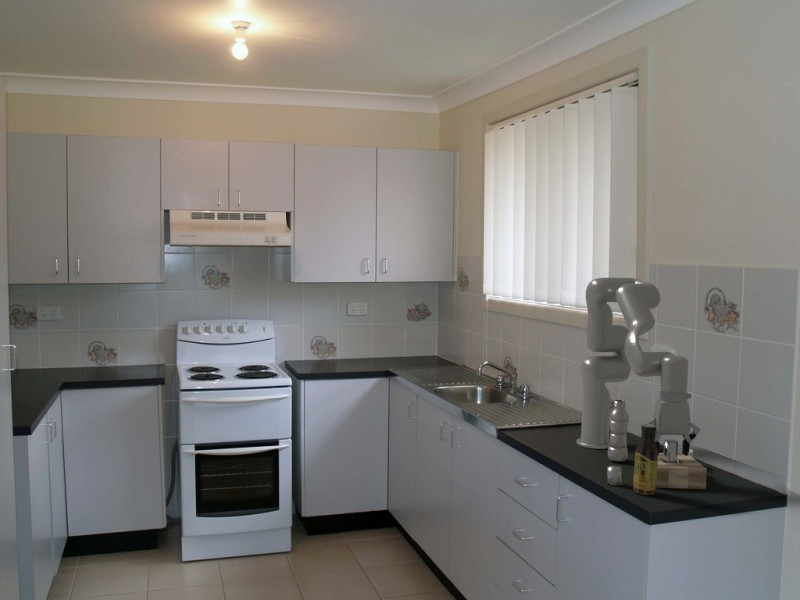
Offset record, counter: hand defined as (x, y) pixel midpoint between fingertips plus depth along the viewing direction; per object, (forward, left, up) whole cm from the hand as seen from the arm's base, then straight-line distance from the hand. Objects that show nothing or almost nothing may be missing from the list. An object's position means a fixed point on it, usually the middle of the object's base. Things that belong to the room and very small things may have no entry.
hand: (670, 453), depth 232 cm
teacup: (-15, +7, -8) cm, 19 cm away
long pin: (0, 0, -8) cm, 8 cm away
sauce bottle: (+13, -11, -8) cm, 19 cm away
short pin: (+6, -18, -8) cm, 21 cm away
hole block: (0, 0, -8) cm, 8 cm away
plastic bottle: (-19, -11, -8) cm, 23 cm away
